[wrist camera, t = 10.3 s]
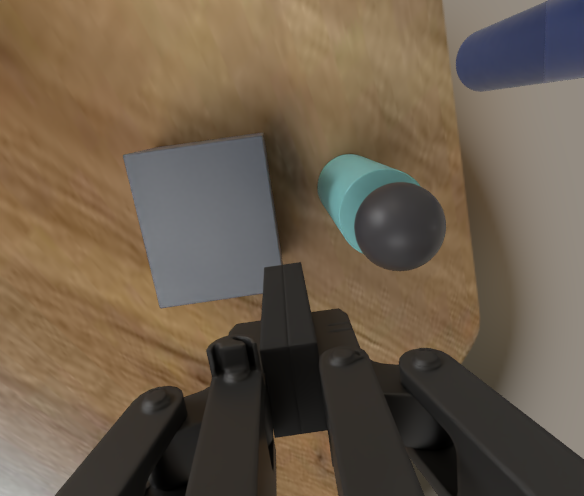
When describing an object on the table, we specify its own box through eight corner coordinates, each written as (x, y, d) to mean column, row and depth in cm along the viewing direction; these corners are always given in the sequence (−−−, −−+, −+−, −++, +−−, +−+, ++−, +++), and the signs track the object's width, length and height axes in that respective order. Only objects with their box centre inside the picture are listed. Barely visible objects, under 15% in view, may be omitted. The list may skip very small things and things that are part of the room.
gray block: (263, 132, 39) (262, 135, 31) (281, 256, 43) (285, 290, 34) (154, 147, 39) (122, 155, 30) (181, 270, 43) (159, 308, 34)
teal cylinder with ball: (360, 149, 42) (547, 149, 26) (365, 209, 44) (543, 243, 28) (246, 171, 37) (390, 188, 21) (257, 237, 39) (397, 300, 23)
